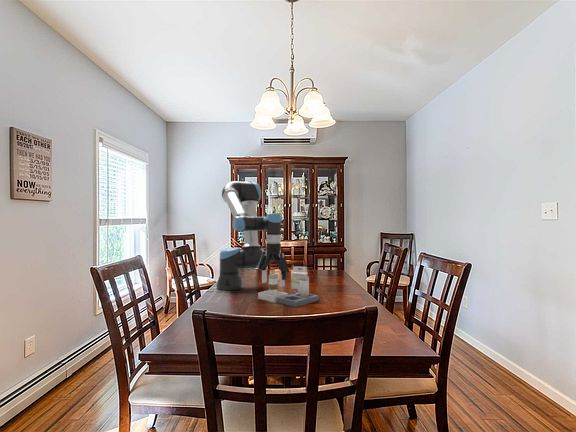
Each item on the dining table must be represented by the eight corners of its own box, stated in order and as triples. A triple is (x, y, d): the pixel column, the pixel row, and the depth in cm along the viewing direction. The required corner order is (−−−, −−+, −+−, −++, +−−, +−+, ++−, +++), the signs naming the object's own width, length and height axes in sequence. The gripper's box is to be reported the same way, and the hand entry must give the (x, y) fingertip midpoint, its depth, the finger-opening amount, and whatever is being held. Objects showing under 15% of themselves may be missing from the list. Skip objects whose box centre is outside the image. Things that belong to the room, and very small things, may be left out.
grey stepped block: (291, 294, 199) (291, 267, 199) (292, 292, 204) (292, 266, 204) (307, 294, 198) (307, 267, 198) (307, 292, 203) (307, 266, 203)
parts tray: (257, 298, 187) (258, 292, 187) (271, 295, 194) (271, 289, 194) (274, 302, 179) (274, 296, 179) (288, 299, 186) (288, 293, 186)
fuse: (297, 300, 185) (297, 276, 185) (303, 298, 188) (303, 275, 188) (304, 301, 182) (305, 277, 182) (310, 300, 185) (310, 276, 185)
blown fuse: (266, 297, 186) (266, 274, 186) (273, 296, 190) (273, 273, 190) (273, 299, 183) (273, 275, 183) (279, 297, 187) (279, 274, 187)
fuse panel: (277, 302, 179) (277, 297, 179) (300, 296, 192) (300, 291, 192) (295, 307, 171) (295, 301, 171) (318, 300, 184) (318, 295, 184)
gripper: (252, 241, 192) (251, 282, 192) (286, 244, 176) (285, 288, 176) (262, 241, 198) (261, 280, 198) (296, 244, 181) (295, 286, 181)
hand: (273, 284), depth 187 cm, fingers open, 12 cm apart
